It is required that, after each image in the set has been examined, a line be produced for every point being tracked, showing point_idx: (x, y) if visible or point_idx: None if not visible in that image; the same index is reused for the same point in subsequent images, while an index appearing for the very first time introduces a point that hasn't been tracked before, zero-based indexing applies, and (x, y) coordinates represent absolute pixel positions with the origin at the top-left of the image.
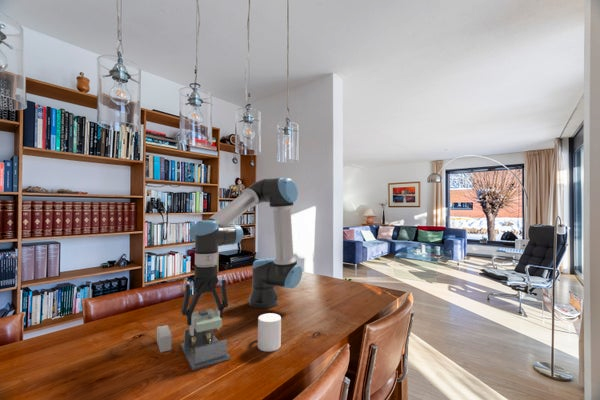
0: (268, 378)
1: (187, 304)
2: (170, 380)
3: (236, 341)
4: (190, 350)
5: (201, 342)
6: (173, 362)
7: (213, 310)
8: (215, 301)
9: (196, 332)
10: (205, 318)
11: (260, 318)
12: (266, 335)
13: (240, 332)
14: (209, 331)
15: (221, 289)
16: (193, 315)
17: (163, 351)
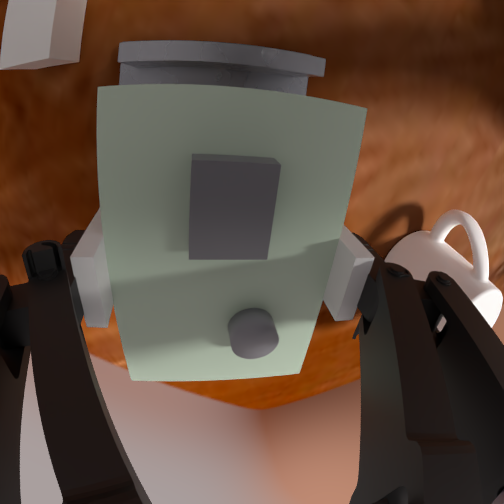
0: (298, 384)
1: (16, 422)
2: None
3: (365, 162)
4: None
5: None
6: (70, 188)
7: (354, 173)
8: (381, 341)
9: (200, 63)
10: (208, 319)
11: None
12: None
13: (418, 98)
14: (284, 72)
15: (482, 456)
16: (101, 320)
17: (47, 66)
